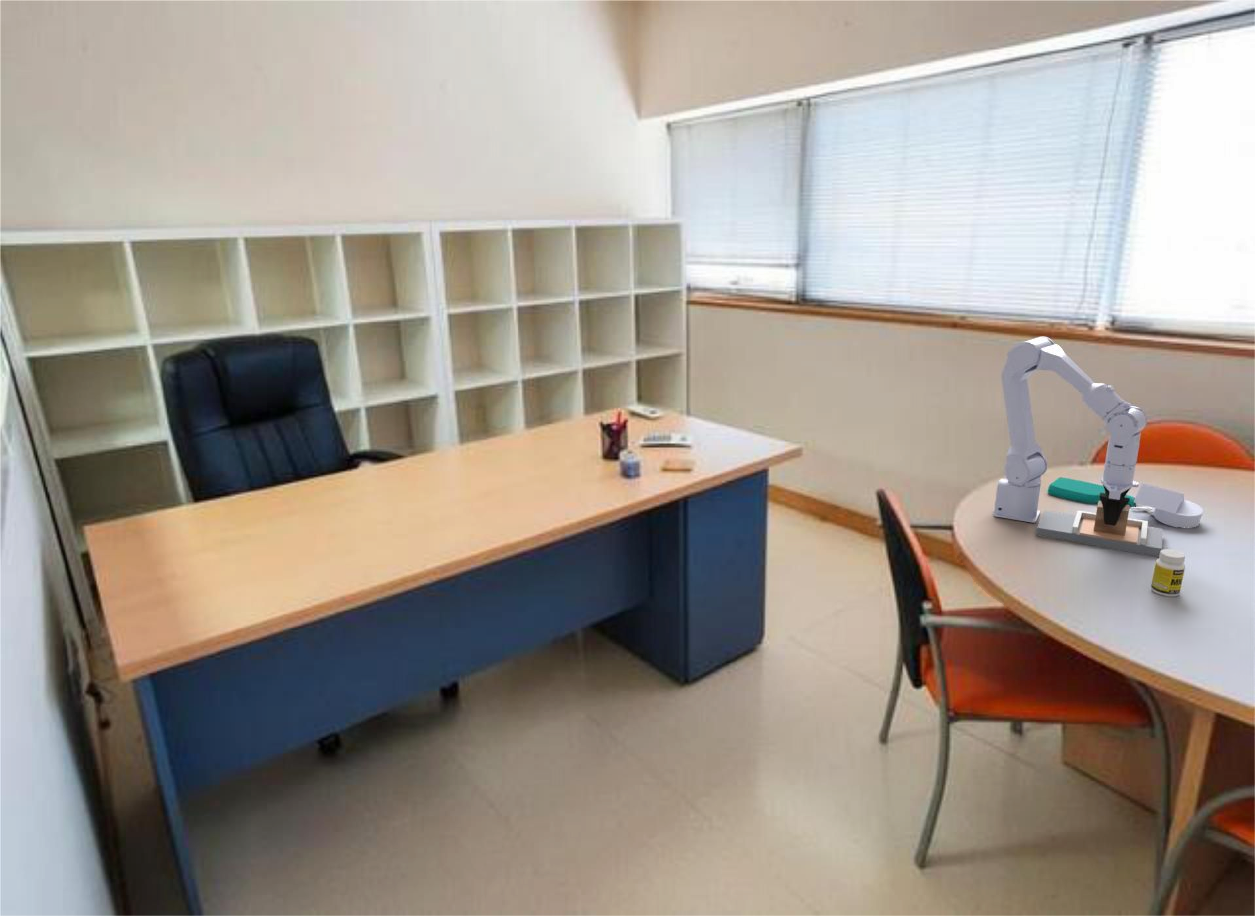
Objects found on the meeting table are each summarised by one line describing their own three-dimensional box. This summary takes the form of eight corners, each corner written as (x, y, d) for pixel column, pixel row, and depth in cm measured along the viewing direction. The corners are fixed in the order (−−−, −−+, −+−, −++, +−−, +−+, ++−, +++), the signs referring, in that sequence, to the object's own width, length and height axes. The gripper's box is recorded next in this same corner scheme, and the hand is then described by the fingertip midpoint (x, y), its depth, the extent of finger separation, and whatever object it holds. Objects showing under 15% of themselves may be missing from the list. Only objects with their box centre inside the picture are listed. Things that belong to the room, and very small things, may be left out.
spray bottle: (1058, 485, 205) (1164, 508, 188) (1043, 496, 198) (1152, 521, 181) (1060, 475, 204) (1166, 497, 187) (1045, 485, 197) (1154, 510, 180)
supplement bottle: (1170, 599, 145) (1178, 560, 142) (1145, 589, 149) (1152, 551, 146) (1184, 593, 147) (1192, 554, 144) (1159, 583, 151) (1166, 545, 148)
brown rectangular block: (1093, 530, 170) (1097, 506, 169) (1094, 524, 174) (1098, 500, 172) (1124, 536, 167) (1128, 511, 165) (1125, 529, 170) (1129, 505, 168)
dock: (1036, 535, 175) (1037, 521, 174) (1043, 517, 184) (1044, 504, 183) (1160, 557, 162) (1163, 542, 161) (1161, 536, 171) (1163, 522, 170)
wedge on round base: (1129, 514, 181) (1194, 532, 173) (1136, 490, 178) (1202, 507, 170) (1140, 500, 187) (1202, 517, 178) (1146, 476, 184) (1210, 492, 175)
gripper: (1141, 474, 157) (1130, 533, 162) (1143, 455, 169) (1133, 510, 173) (1101, 469, 161) (1092, 527, 166) (1106, 451, 172) (1098, 505, 177)
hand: (1111, 518), depth 169 cm, fingers open, 7 cm apart
